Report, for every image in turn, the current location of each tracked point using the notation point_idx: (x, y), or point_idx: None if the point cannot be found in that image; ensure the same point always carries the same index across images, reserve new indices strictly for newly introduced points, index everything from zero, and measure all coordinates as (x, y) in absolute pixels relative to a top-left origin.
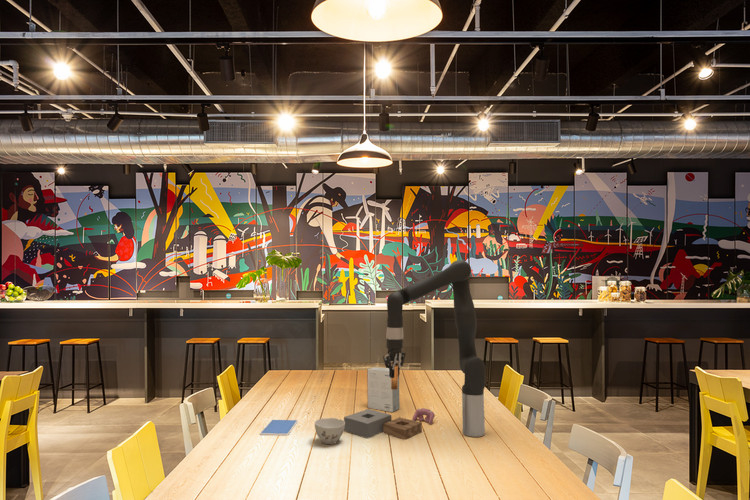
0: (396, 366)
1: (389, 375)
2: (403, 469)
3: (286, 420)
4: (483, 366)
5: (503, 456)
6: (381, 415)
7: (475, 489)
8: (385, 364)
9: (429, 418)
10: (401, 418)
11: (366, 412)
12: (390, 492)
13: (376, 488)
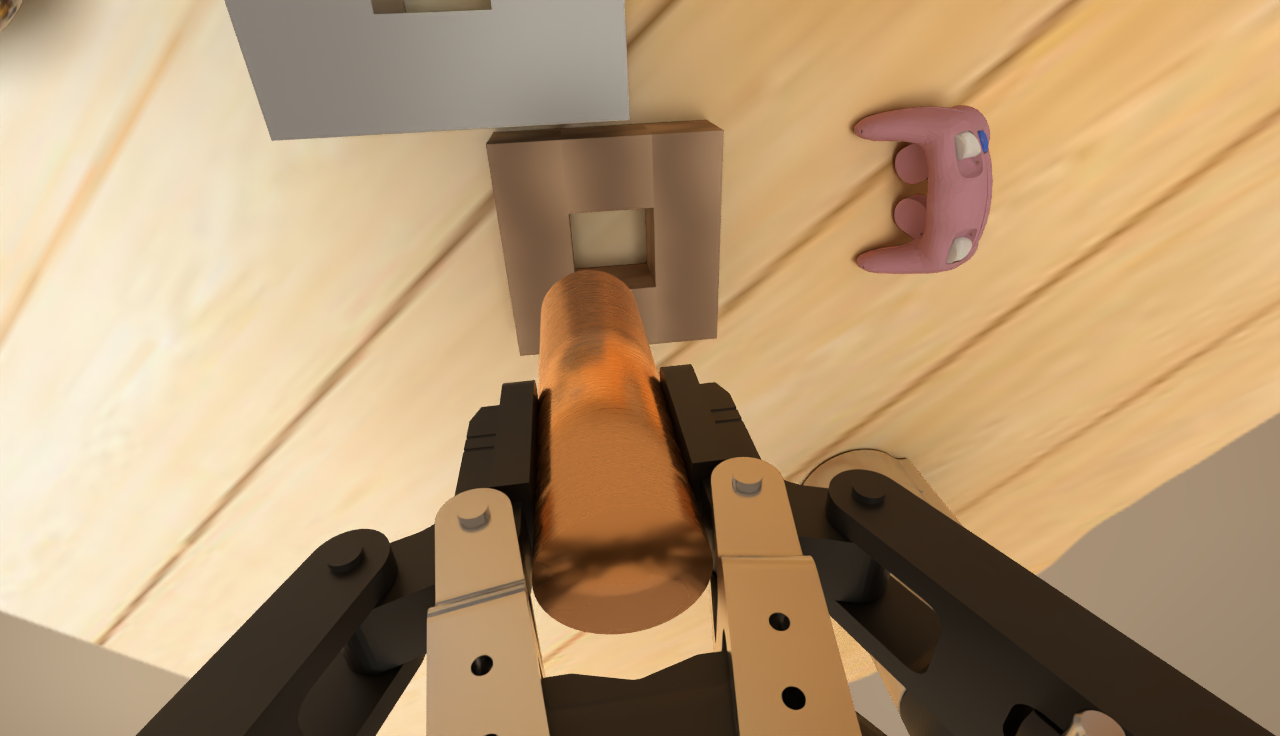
0: (600, 627)
1: (472, 424)
2: (248, 547)
3: None
4: None
5: (679, 660)
6: (544, 56)
7: (380, 728)
8: (242, 642)
9: (891, 259)
10: (701, 165)
11: None
12: (74, 631)
13: (27, 591)
